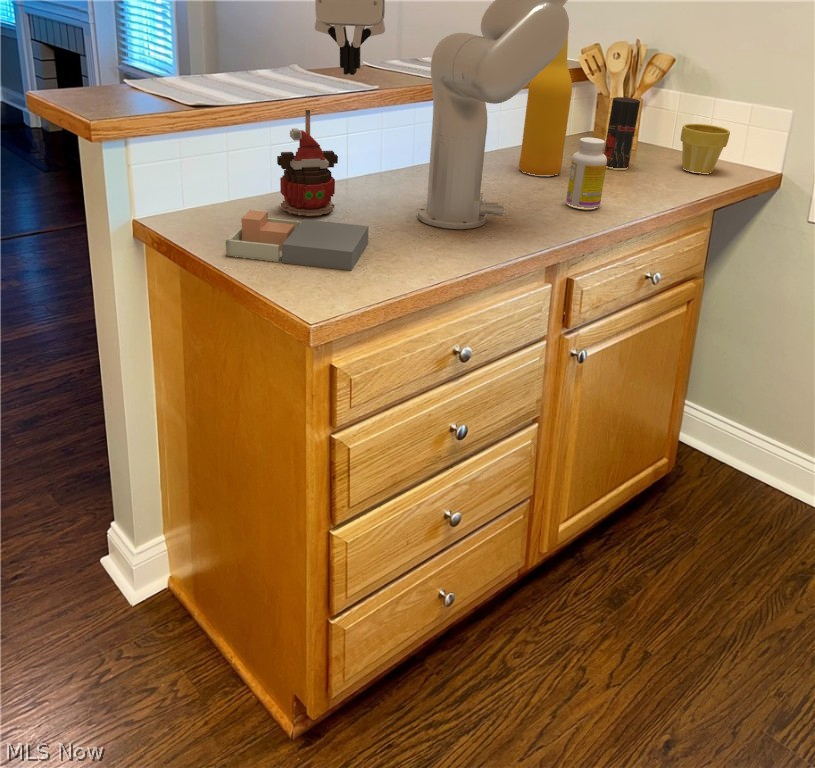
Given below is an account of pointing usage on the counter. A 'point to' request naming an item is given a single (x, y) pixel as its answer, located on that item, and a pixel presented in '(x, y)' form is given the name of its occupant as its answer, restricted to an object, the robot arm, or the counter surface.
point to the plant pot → (702, 146)
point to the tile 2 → (275, 233)
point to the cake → (307, 175)
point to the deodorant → (621, 131)
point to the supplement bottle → (587, 174)
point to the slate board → (325, 244)
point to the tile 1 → (253, 225)
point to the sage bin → (255, 245)
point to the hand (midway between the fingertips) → (350, 73)
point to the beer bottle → (547, 118)
